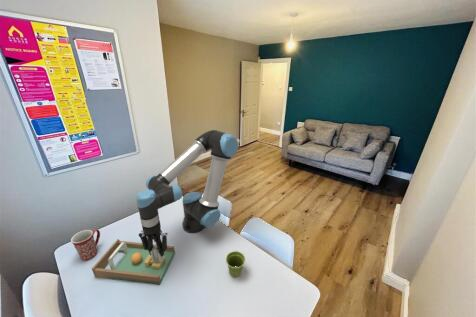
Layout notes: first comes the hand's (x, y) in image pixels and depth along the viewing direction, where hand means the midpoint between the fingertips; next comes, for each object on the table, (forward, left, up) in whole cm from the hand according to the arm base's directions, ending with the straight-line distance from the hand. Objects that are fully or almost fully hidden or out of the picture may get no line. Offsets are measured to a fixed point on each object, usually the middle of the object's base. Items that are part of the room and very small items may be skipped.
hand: (158, 259), depth 97 cm
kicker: (+2, -1, -3) cm, 3 cm away
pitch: (+10, -6, -5) cm, 13 cm away
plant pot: (-35, +16, -5) cm, 39 cm away
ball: (+10, -6, -1) cm, 12 cm away
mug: (+34, -23, -5) cm, 41 cm away
